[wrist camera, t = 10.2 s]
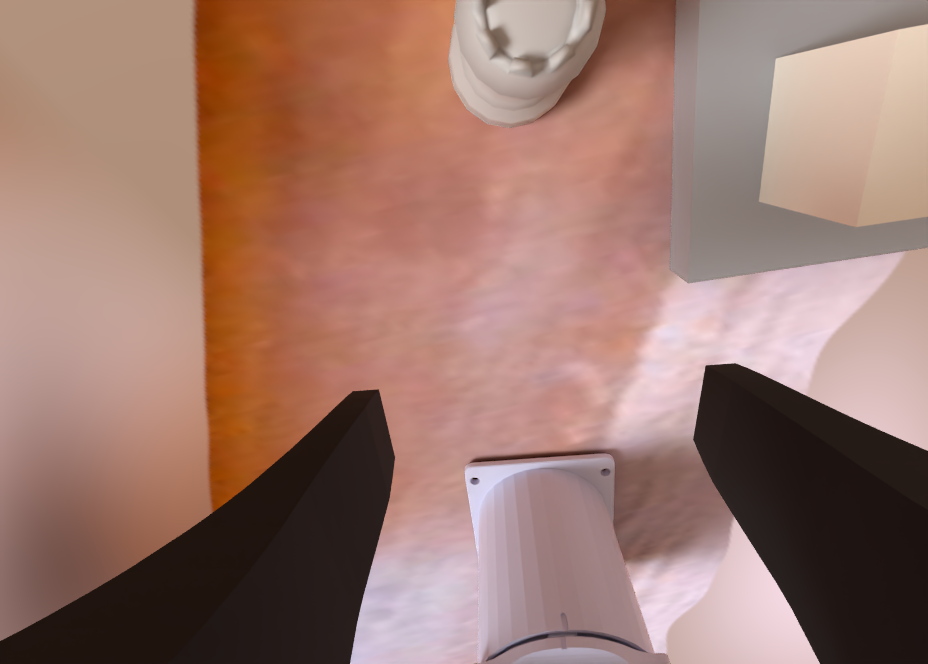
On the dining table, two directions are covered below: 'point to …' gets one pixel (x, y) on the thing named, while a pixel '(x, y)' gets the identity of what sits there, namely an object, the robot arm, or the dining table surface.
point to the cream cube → (851, 130)
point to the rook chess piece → (520, 54)
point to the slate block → (758, 135)
